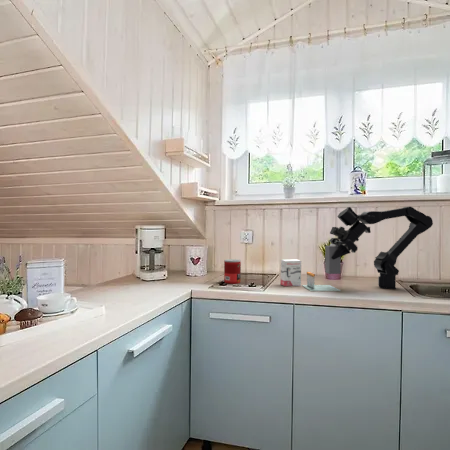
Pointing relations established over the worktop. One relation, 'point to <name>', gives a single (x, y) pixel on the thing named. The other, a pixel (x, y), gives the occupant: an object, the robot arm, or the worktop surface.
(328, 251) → the gray rectangular block
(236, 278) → the canned food
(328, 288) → the mat
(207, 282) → the worktop surface
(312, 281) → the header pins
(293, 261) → the ink box
